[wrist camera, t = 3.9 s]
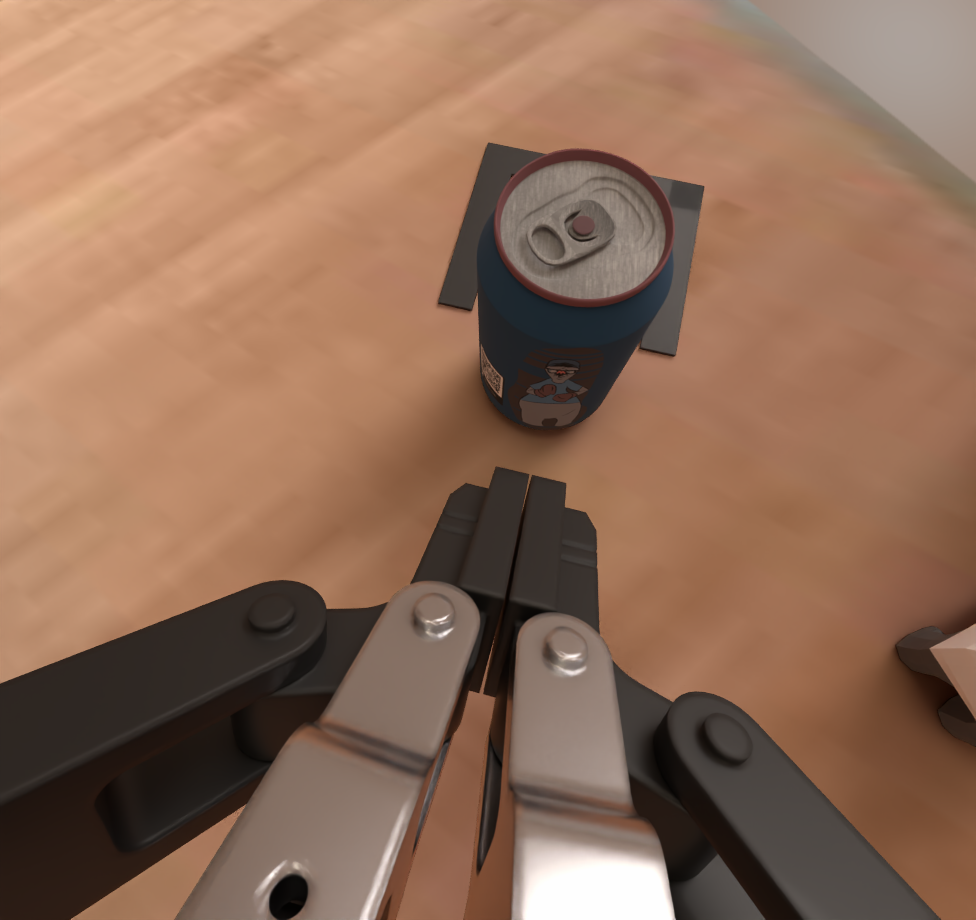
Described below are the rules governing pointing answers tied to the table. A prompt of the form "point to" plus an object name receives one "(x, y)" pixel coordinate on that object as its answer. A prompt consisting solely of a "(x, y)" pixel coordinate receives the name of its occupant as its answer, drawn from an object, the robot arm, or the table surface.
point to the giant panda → (947, 673)
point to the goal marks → (483, 202)
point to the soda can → (569, 283)
